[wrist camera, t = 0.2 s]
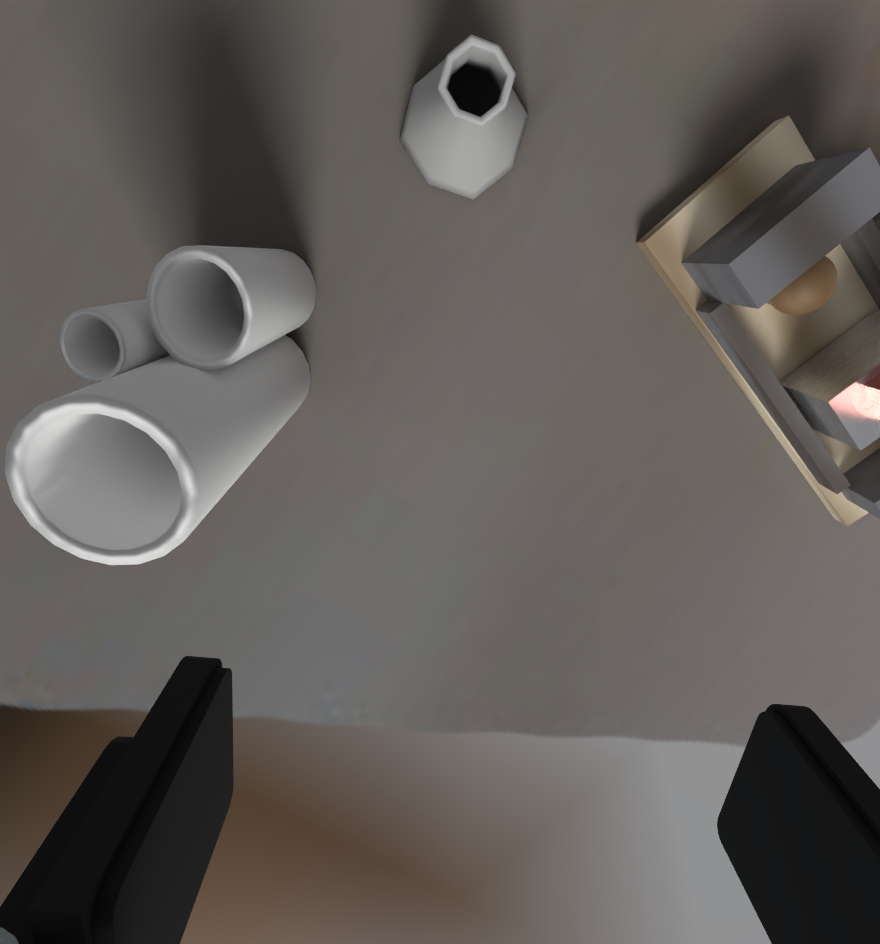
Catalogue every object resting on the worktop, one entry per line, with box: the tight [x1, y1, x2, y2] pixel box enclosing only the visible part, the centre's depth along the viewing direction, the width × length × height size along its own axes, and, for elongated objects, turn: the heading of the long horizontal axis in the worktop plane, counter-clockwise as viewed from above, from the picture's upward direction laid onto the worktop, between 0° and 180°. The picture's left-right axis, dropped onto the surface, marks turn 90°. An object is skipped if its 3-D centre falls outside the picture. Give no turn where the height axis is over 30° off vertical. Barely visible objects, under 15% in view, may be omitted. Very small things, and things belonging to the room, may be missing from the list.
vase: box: [5, 245, 316, 565], centre depth 28 cm, size 11×7×20 cm, turn 173°
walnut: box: [767, 256, 837, 315], centre depth 34 cm, size 4×4×4 cm
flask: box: [400, 34, 529, 199], centre depth 29 cm, size 7×7×10 cm
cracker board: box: [636, 116, 880, 527], centre depth 35 cm, size 10×26×8 cm, turn 42°
